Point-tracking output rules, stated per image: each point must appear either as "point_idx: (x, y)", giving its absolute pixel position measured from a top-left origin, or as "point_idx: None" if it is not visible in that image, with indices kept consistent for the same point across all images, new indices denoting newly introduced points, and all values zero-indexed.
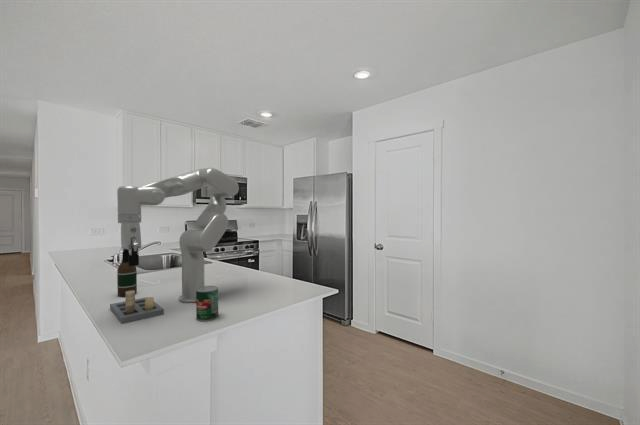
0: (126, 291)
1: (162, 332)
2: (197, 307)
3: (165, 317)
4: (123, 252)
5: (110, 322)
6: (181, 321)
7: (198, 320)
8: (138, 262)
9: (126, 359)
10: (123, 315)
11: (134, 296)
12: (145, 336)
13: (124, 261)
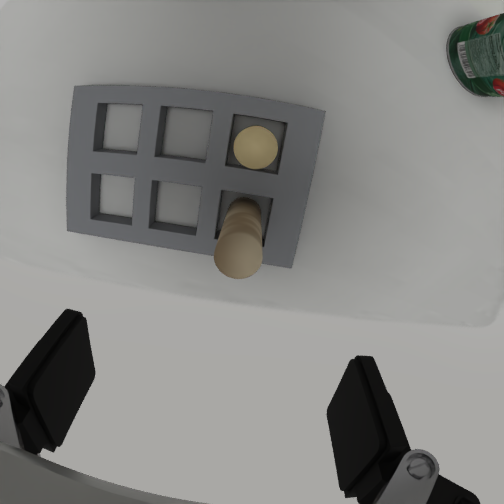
0: (225, 271)
1: (467, 215)
2: (502, 94)
3: (363, 129)
4: (45, 445)
5: None
6: (445, 126)
7: (478, 95)
8: (379, 374)
9: (493, 321)
10: (263, 251)
11: (256, 230)
12: (450, 256)
13: (91, 375)
